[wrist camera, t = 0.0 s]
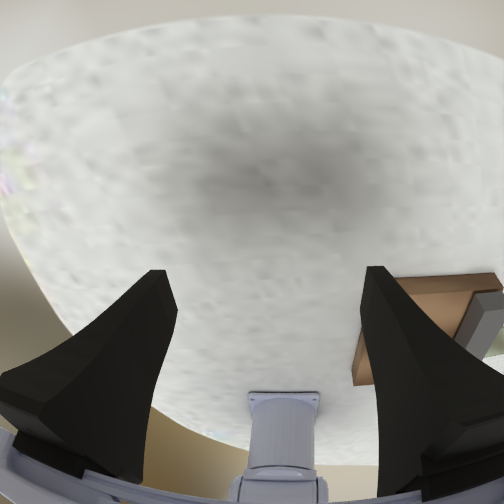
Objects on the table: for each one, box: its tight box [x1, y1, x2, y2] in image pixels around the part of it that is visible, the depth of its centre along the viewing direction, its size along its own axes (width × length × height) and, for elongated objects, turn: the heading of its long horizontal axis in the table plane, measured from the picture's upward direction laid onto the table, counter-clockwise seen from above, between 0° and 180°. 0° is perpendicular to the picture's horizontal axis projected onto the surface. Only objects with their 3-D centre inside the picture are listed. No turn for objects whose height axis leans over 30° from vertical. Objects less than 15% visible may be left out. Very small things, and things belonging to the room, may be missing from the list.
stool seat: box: [352, 273, 504, 386], centre depth 25 cm, size 12×22×2 cm, turn 95°
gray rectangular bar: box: [454, 291, 504, 361], centre depth 22 cm, size 12×3×2 cm, turn 5°
